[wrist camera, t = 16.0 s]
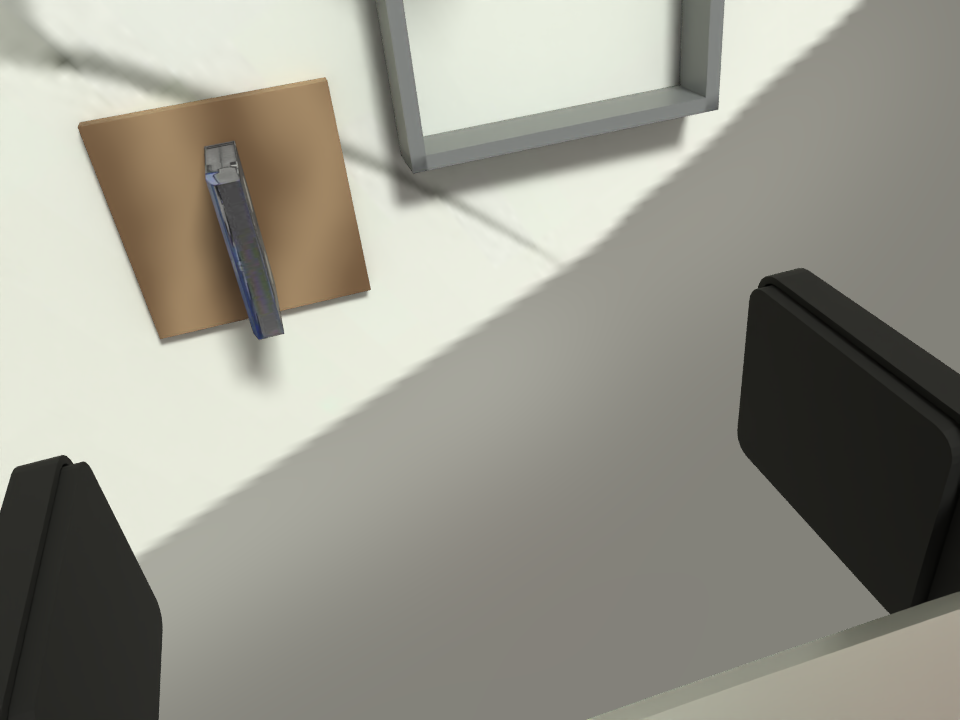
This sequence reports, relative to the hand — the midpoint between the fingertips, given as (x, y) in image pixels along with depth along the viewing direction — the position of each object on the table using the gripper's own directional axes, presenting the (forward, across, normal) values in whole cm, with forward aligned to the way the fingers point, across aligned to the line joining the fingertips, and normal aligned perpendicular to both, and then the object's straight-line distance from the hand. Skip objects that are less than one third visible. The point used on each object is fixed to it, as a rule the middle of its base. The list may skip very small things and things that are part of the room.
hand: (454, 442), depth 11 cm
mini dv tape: (+34, +4, +9) cm, 35 cm away
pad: (+34, +4, +9) cm, 36 cm away
